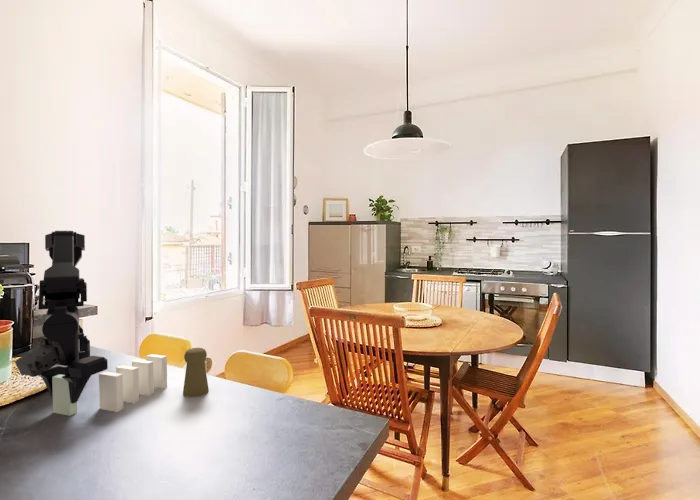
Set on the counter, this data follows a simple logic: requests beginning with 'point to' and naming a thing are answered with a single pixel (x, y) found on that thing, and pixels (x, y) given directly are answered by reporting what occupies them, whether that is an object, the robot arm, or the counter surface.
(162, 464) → the counter surface
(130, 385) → the domino
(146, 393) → the domino
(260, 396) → the counter surface
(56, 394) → the sage domino
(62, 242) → the robot arm
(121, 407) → the domino
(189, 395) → the cork
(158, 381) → the domino
